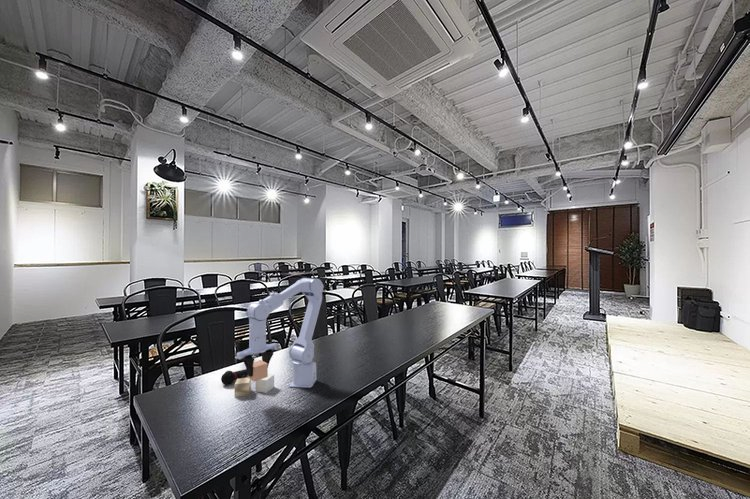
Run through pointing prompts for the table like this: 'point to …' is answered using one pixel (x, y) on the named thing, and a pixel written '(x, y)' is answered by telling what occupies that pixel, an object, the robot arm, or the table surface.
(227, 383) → the microphone
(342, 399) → the table surface
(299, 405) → the table surface
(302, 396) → the table surface
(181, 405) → the table surface
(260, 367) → the peach block
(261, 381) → the white block
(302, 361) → the robot arm
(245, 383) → the birch block
